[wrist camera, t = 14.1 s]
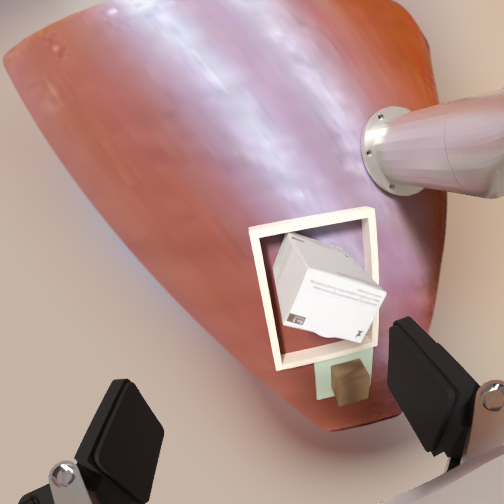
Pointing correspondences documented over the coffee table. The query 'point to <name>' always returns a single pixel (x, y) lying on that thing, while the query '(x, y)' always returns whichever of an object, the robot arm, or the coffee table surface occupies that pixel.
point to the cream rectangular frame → (370, 268)
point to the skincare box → (324, 289)
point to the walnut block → (350, 382)
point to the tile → (324, 367)
